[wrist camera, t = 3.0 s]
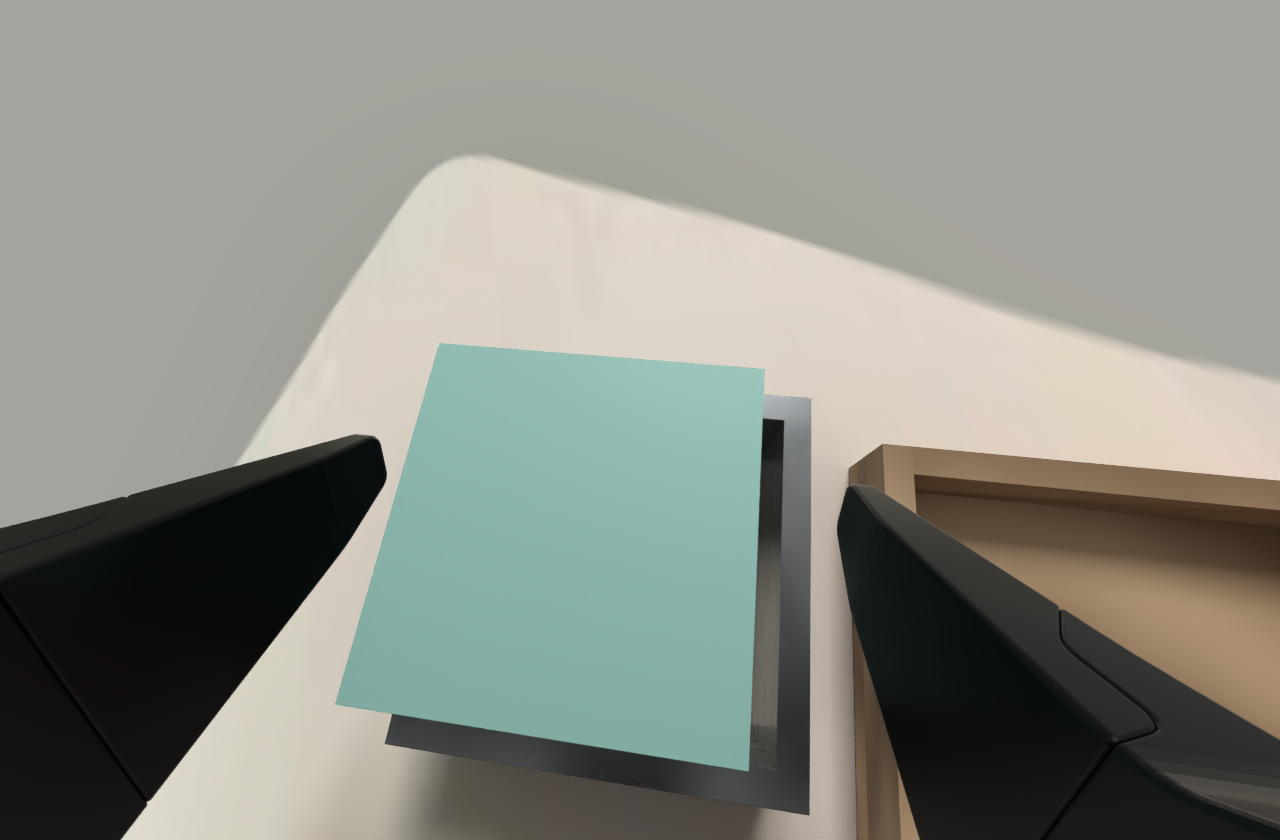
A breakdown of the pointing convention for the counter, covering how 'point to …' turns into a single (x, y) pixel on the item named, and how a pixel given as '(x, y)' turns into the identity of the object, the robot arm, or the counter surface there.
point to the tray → (1097, 576)
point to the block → (573, 555)
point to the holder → (776, 662)
